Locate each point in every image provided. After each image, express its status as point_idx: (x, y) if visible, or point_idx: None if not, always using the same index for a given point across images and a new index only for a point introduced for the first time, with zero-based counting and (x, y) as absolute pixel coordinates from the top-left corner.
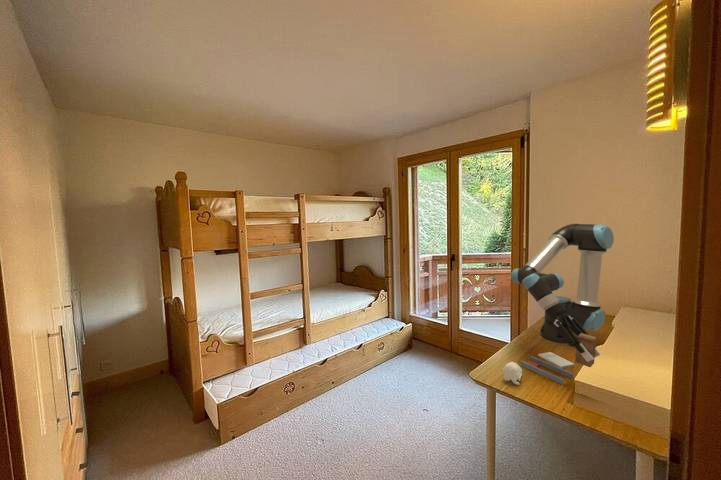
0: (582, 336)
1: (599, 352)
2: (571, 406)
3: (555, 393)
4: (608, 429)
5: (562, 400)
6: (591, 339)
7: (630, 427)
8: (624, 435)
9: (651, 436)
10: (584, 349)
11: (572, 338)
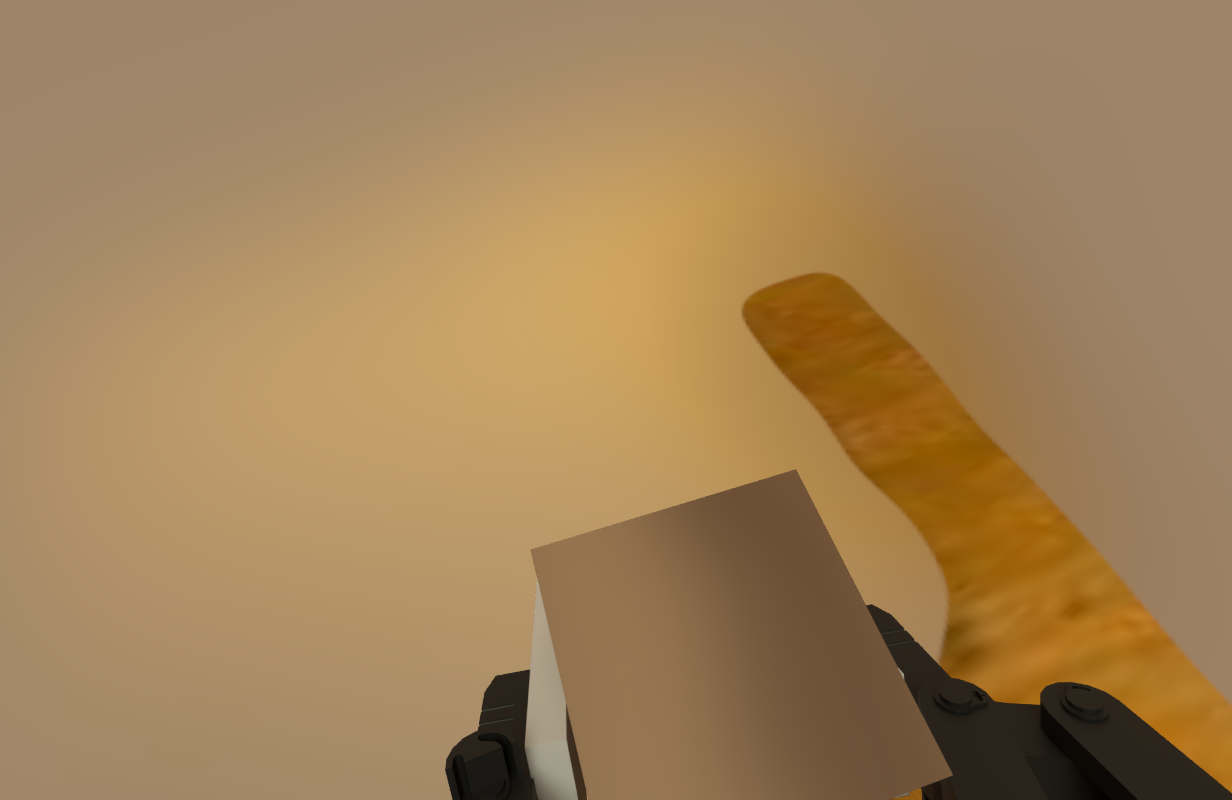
0: (809, 708)
1: (538, 585)
2: (990, 605)
3: None
4: (931, 398)
5: (1007, 683)
6: (752, 518)
7: (794, 372)
8: (887, 352)
9: (760, 313)
10: None
11: (1144, 773)
